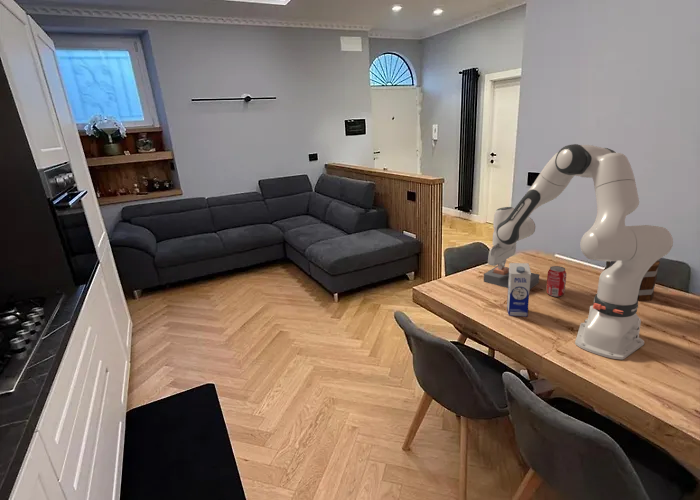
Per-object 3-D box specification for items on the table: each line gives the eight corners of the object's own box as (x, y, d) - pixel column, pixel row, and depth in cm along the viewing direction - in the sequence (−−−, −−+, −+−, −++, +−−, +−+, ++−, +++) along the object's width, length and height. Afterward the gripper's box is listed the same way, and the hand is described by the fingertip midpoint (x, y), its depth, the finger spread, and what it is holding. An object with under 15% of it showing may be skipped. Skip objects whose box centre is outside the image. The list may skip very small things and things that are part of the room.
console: (525, 292, 165) (526, 284, 164) (483, 281, 180) (483, 273, 178) (538, 282, 174) (539, 274, 173) (497, 272, 188) (498, 265, 187)
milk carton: (525, 308, 152) (528, 262, 146) (527, 316, 146) (531, 269, 140) (506, 307, 154) (509, 262, 148) (508, 315, 148) (511, 268, 142)
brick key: (503, 277, 176) (503, 271, 175) (493, 275, 180) (493, 269, 179) (508, 274, 179) (508, 268, 178) (498, 271, 183) (498, 266, 182)
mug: (662, 296, 153) (669, 262, 148) (639, 304, 148) (646, 269, 143) (614, 280, 170) (618, 249, 165) (592, 286, 166) (597, 254, 161)
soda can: (560, 290, 165) (562, 265, 161) (567, 297, 158) (570, 271, 154) (543, 290, 166) (545, 265, 162) (549, 298, 159) (552, 271, 155)
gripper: (498, 248, 166) (496, 277, 170) (519, 236, 178) (517, 263, 183) (484, 245, 170) (483, 273, 175) (506, 234, 183) (505, 261, 187)
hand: (501, 268), depth 179 cm, fingers closed, pressing on brick key
